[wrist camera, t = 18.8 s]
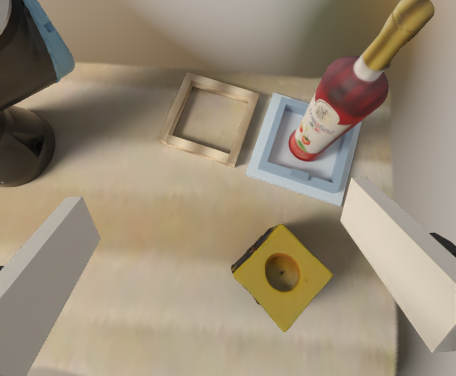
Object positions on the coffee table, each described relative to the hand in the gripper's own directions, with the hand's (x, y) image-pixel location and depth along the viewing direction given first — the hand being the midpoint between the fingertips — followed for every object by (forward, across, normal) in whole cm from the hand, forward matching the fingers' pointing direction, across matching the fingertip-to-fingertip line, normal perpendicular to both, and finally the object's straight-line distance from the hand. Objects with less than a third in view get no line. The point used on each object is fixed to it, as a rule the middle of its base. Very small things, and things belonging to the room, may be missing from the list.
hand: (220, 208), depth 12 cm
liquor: (+32, +16, -11) cm, 38 cm away
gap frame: (+38, -1, -7) cm, 38 cm away
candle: (+18, +8, -27) cm, 33 cm away
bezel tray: (+33, +16, -12) cm, 38 cm away
